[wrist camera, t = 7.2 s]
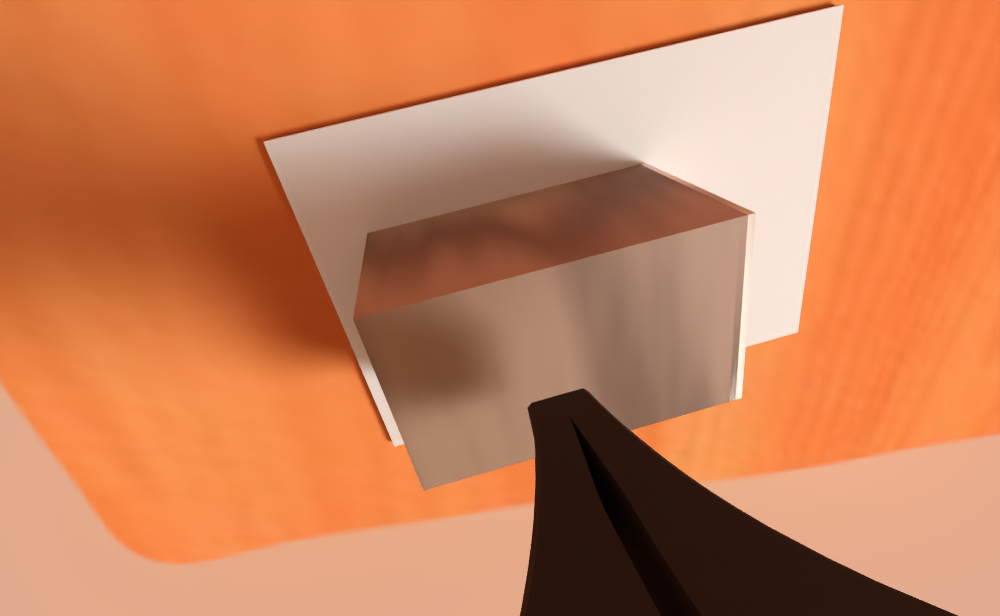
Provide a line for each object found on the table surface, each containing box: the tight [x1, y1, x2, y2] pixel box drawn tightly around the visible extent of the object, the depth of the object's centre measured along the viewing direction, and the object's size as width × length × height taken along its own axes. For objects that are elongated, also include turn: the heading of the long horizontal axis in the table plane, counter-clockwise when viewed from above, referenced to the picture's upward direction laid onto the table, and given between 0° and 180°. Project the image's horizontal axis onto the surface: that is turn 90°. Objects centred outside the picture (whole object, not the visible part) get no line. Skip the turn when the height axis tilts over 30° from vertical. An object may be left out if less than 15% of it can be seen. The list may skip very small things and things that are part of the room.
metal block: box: [353, 163, 756, 490], centre depth 15 cm, size 6×6×10 cm
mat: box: [263, 5, 844, 447], centre depth 18 cm, size 19×13×1 cm
